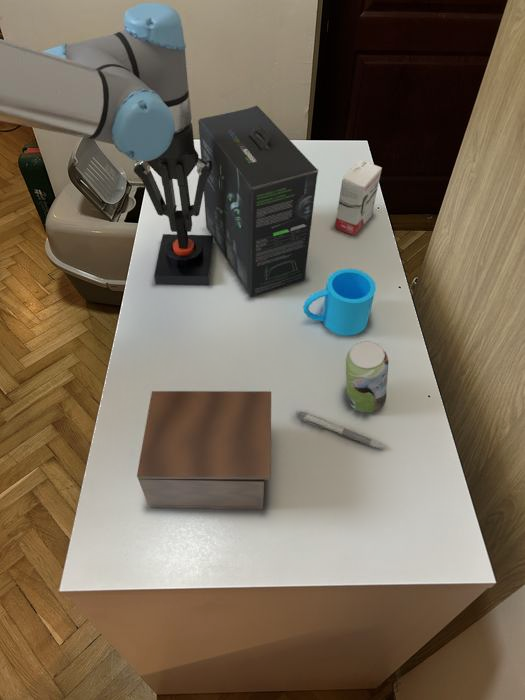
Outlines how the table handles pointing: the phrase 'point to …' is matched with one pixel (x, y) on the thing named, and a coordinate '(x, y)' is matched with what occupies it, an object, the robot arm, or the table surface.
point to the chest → (204, 493)
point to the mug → (345, 302)
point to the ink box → (357, 197)
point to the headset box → (257, 198)
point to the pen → (338, 429)
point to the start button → (183, 251)
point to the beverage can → (366, 376)
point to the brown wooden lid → (207, 435)
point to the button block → (184, 262)
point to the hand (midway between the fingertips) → (183, 243)
